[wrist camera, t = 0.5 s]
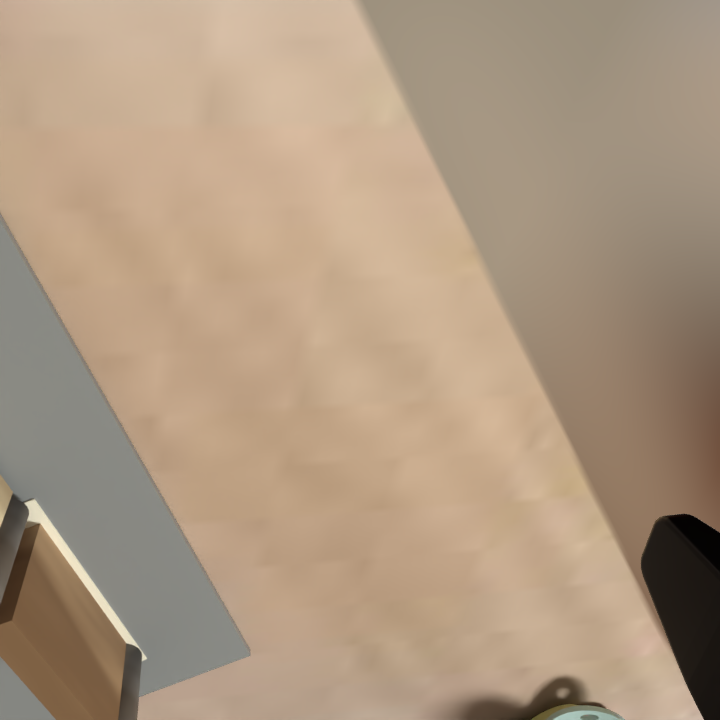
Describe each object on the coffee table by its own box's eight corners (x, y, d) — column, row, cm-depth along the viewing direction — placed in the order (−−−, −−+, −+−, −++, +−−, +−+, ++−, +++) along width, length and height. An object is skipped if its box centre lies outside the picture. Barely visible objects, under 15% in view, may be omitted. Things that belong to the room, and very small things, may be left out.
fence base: (111, 674, 28) (97, 788, 24) (4, 535, 24) (-35, 644, 20) (148, 660, 28) (140, 771, 24) (48, 519, 24) (19, 624, 20)
